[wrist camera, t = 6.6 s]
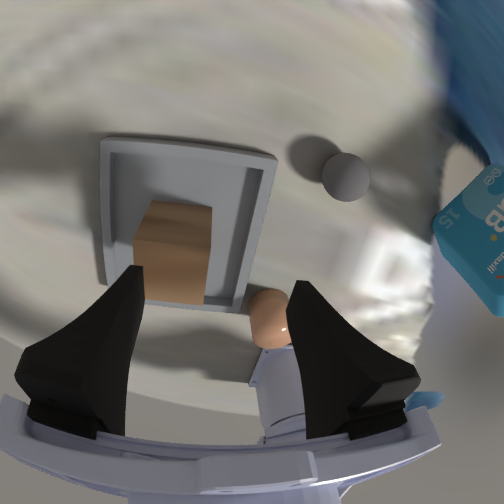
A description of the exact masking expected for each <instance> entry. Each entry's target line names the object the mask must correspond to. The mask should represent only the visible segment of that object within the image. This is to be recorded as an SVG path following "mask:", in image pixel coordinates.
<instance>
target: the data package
mask: <svg viewBox="0 0 504 504" xmlns="http://www.w3.org/2000/svg"><path fill="white" fill-rule="evenodd" d="M432 227H433V231H434V233H435V236H436V239H437V241H438V244H439V247H440V250H441V253H442V255H443V257H444V258H445V259H446V260H447V261H448V262H449V263H450V264H451V265H452V266H453V267H454V268H455V269H456V271H457V272H458V273H459V274H460V275H461V276H462V277H463V278H464V280H465V281H466V282H467V283H468V284H469V285H470V287H471V288H472V289H473V290H474V291H475V292H476V294H477V295H478V296H479V297H480V299H481V300H482V301H483V302H484V304H485V305H486V306H487V307H488V309H489V310H490V311H491V312H492V314H494V315H495V316H498V317H504V166H502V165H500V164H491V165H488V166H487V167H486V168H485V169H484V170H483V171H482V172H481V173H480V174H479V175H478V176H477V177H476V178H475V179H474V180H473V181H472V182H471V183H470V184H469V185H468V186H467V187H466V188H465V189H464V190H463V191H462V192H461V193H460V194H459V195H458V196H457V197H456V198H454V199H453V201H451V202H450V203H449V204H448V205H447V206H446V207H445V208H444V209H443V210H442V211H441V212H439V213H438V214H437V215H436V216H435V218H434V220H433V223H432Z"/></svg>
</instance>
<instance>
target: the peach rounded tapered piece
mask: <svg viewBox="0 0 504 504" xmlns="http://www.w3.org/2000/svg"><path fill="white" fill-rule="evenodd" d="M288 302H289V299H288V296H287V295H286V294H285V293H284V292H283V291H281V290H278V289H265V290H262V291H259V292H257V293H256V294H254V295H253V296H252V297H251V299H250V300H249V303H248V310H249V317H250V324H251V331H252V338H253V341H254V343H255V344H256V345H257V346H259V347H261V348H265V349H276V348H281V347H284V346H286V345H288V344H289V343H291V338H290V335H289V331H288V326H287V319H286V311H285V310H286V308H287V305H288Z"/></svg>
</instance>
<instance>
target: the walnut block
mask: <svg viewBox="0 0 504 504" xmlns="http://www.w3.org/2000/svg"><path fill="white" fill-rule="evenodd" d="M211 233H212V207H208V206H200V205H191V204H183V203H174V202H165V201H155V200H152V201H151V203H150V205H149V207H148V209H147V211H146V213H145V215H144V217H143V219H142V221H141V223H140V225H139V227H138V229H137V231H136V233H135V235H134V238H133V261H134V265H138V266H143V274H144V291H145V299H148V300H156V301H164V302H173V303H182V304H191V305H201V306H203V302H204V295H205V287H206V280H207V273H208V266H209V259H210V252H211Z"/></svg>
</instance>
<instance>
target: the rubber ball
mask: <svg viewBox="0 0 504 504" xmlns="http://www.w3.org/2000/svg"><path fill="white" fill-rule="evenodd" d="M322 182H323V185H324V188H325V189H326V191H327V192H328V193H329V194H330V195H331V196H332V197H333V198H335V199H337V200H340V201H344V202H350V201H354V200H357V199H359V198H360V197H362V196H363V195H364V194H365V192H366V191H367V189H368V187H369V183H370V174H369V170H368V168H367V166H366V164H365V163H364V162H363V160H361V159H360V158H359V157H357V156H356V155H353V154H350V153H340V154H336V155H334V156H332V157H331V158H330V159H329V160H328V161H327V162H326V163H325V165H324V167H323V170H322Z"/></svg>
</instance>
